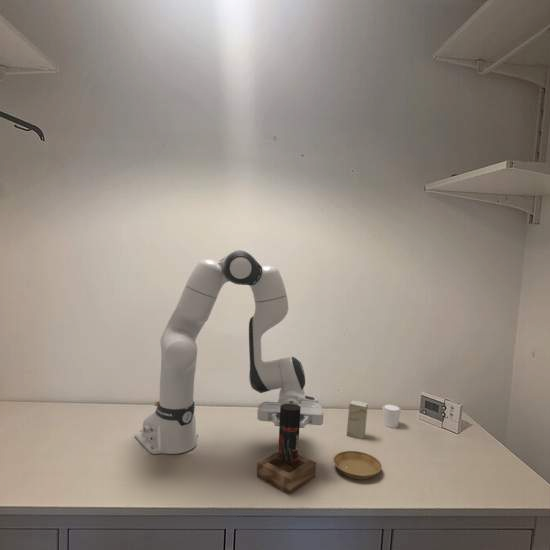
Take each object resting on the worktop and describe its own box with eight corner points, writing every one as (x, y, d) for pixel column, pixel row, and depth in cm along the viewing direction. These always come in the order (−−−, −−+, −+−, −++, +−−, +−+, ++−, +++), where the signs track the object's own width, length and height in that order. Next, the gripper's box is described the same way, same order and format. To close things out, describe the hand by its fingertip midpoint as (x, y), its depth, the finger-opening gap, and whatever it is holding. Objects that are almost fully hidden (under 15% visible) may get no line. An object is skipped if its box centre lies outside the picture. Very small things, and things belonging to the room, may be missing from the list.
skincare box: (346, 435, 157) (348, 403, 156) (349, 430, 161) (351, 399, 160) (363, 439, 154) (365, 406, 153) (365, 434, 159) (368, 402, 157)
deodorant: (296, 463, 123) (299, 411, 123) (276, 460, 124) (278, 408, 124) (299, 454, 129) (301, 405, 129) (279, 452, 130) (282, 402, 130)
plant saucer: (324, 471, 132) (324, 463, 132) (345, 453, 144) (346, 446, 144) (369, 489, 124) (370, 481, 124) (387, 468, 136) (388, 460, 136)
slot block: (256, 476, 127) (257, 462, 126) (283, 461, 136) (283, 447, 136) (289, 494, 119) (290, 479, 119) (315, 477, 128) (316, 462, 128)
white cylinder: (401, 424, 169) (402, 406, 169) (396, 430, 164) (397, 412, 163) (384, 419, 173) (385, 402, 172) (378, 425, 167) (380, 407, 167)
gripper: (259, 394, 140) (254, 411, 126) (322, 398, 138) (324, 416, 124) (258, 413, 140) (253, 432, 126) (321, 417, 139) (323, 437, 125)
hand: (289, 424), depth 125 cm, fingers closed on deodorant, 6 cm apart
